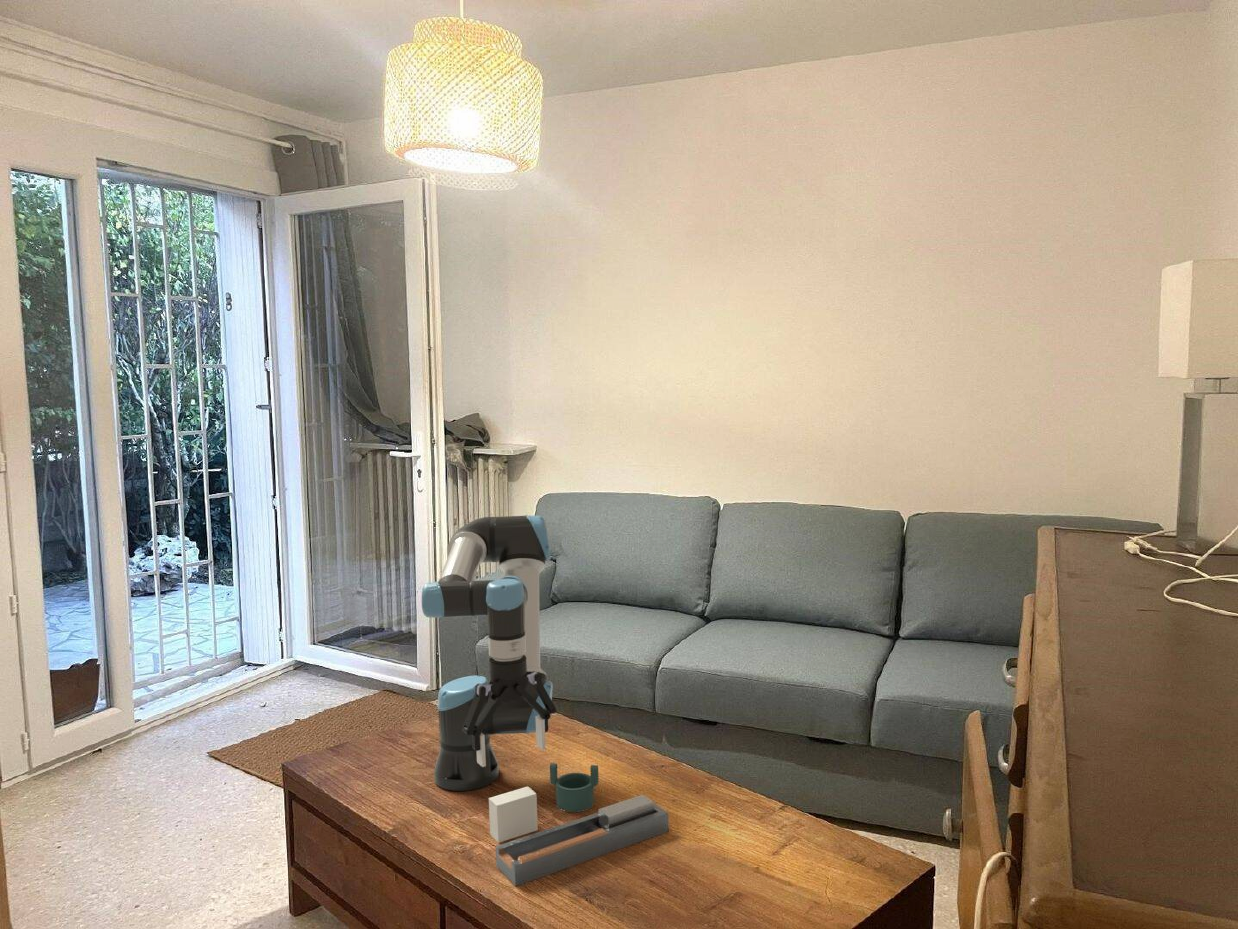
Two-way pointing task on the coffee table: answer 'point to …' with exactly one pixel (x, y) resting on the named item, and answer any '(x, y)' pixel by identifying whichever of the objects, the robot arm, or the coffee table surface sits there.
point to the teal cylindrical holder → (574, 789)
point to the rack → (581, 839)
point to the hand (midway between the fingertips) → (511, 756)
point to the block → (513, 814)
